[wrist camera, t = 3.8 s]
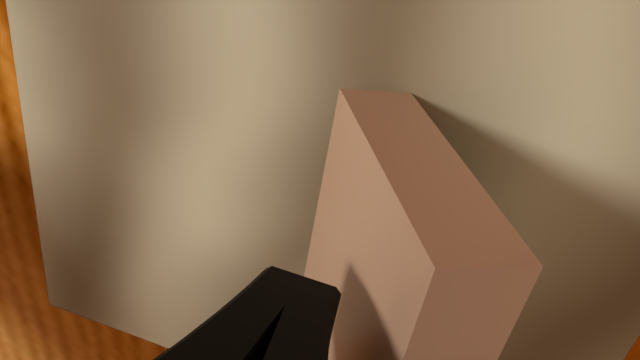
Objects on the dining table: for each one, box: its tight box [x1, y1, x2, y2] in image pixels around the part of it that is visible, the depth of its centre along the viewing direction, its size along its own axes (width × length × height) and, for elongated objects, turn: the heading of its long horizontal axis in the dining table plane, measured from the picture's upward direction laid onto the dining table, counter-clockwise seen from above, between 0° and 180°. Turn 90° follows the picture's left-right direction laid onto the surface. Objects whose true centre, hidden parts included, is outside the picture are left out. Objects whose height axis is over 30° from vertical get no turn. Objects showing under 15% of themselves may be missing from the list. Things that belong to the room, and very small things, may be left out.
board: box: [6, 0, 640, 360], centre depth 14 cm, size 17×16×1 cm
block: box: [304, 88, 543, 360], centre depth 11 cm, size 2×6×6 cm, turn 170°
